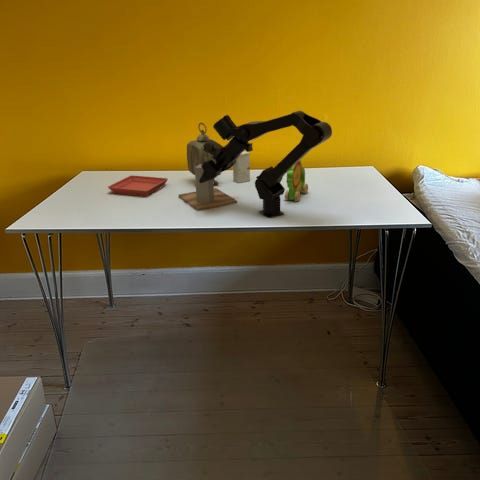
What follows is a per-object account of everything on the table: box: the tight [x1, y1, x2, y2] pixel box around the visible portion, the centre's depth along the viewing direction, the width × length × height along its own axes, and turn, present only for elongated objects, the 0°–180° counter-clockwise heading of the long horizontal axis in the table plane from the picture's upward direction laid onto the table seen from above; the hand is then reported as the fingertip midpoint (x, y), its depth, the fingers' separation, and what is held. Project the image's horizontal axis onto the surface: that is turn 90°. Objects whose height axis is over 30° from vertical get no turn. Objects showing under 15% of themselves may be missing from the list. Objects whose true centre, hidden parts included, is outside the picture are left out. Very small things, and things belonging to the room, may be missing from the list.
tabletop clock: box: [186, 122, 222, 186], centre depth 194 cm, size 14×9×25 cm, turn 30°
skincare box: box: [232, 150, 251, 184], centre depth 199 cm, size 6×4×12 cm
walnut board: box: [178, 187, 238, 212], centre depth 179 cm, size 18×16×1 cm
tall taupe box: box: [194, 164, 215, 203], centre depth 173 cm, size 4×5×13 cm
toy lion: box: [284, 160, 309, 202], centre depth 177 cm, size 16×5×15 cm, turn 155°
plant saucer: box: [107, 174, 168, 197], centre depth 193 cm, size 18×18×3 cm
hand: (205, 178), depth 172 cm, fingers open, 9 cm apart
